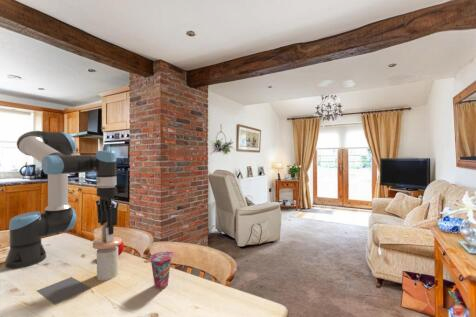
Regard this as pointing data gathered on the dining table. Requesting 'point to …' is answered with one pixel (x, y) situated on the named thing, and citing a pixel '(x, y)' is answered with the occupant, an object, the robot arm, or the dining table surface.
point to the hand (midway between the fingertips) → (107, 240)
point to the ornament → (120, 248)
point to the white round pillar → (107, 263)
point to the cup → (161, 268)
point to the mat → (63, 290)
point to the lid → (102, 244)
